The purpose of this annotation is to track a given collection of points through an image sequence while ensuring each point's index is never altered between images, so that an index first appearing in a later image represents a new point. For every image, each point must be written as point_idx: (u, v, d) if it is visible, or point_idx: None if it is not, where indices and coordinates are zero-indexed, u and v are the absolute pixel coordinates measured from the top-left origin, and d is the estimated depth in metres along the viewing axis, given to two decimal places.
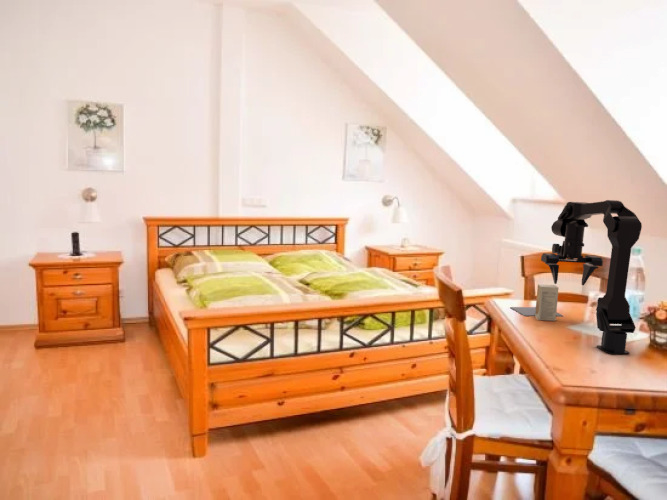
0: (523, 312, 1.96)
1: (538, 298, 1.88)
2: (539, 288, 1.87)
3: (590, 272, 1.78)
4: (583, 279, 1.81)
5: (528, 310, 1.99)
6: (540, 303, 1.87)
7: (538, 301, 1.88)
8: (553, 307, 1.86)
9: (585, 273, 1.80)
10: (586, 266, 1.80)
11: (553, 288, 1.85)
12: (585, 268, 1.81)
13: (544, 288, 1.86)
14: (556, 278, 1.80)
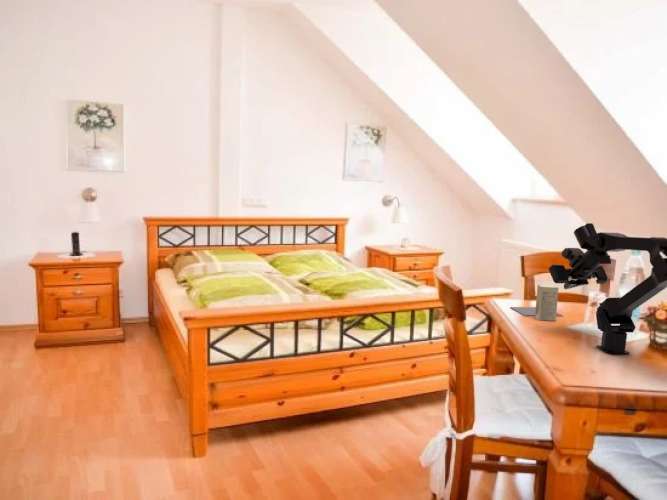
0: (523, 312, 1.96)
1: (538, 298, 1.88)
2: (539, 288, 1.87)
3: (578, 285, 1.75)
4: None
5: (528, 310, 1.99)
6: (540, 303, 1.87)
7: (538, 301, 1.88)
8: (553, 307, 1.86)
9: None
10: None
11: (553, 288, 1.85)
12: None
13: (544, 288, 1.86)
14: (568, 287, 1.77)
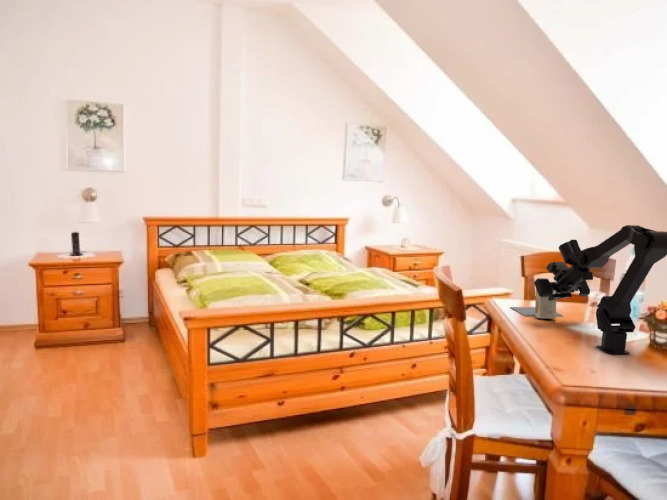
0: (523, 312, 1.96)
1: (537, 296, 1.89)
2: None
3: (562, 298, 1.82)
4: None
5: (528, 310, 1.99)
6: (539, 300, 1.88)
7: (537, 299, 1.89)
8: (553, 304, 1.87)
9: None
10: None
11: None
12: None
13: None
14: (552, 299, 1.84)
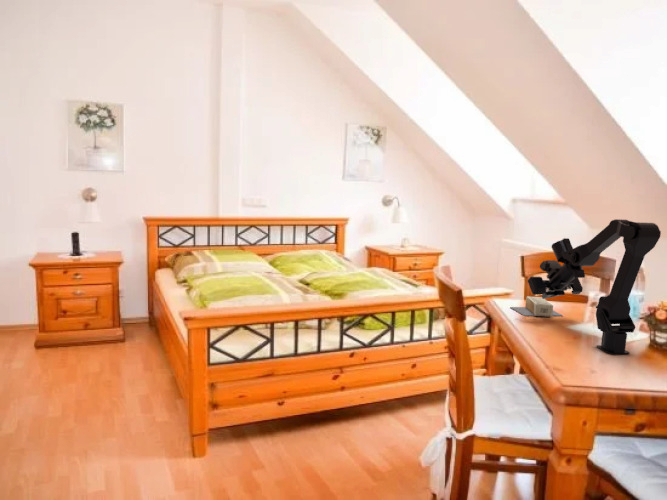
0: (523, 312, 1.96)
1: (529, 303, 1.99)
2: (526, 300, 2.02)
3: None
4: None
5: (528, 310, 1.99)
6: (532, 300, 1.97)
7: (530, 303, 1.98)
8: (545, 301, 1.96)
9: None
10: None
11: (538, 297, 2.02)
12: None
13: None
14: (546, 297, 1.88)
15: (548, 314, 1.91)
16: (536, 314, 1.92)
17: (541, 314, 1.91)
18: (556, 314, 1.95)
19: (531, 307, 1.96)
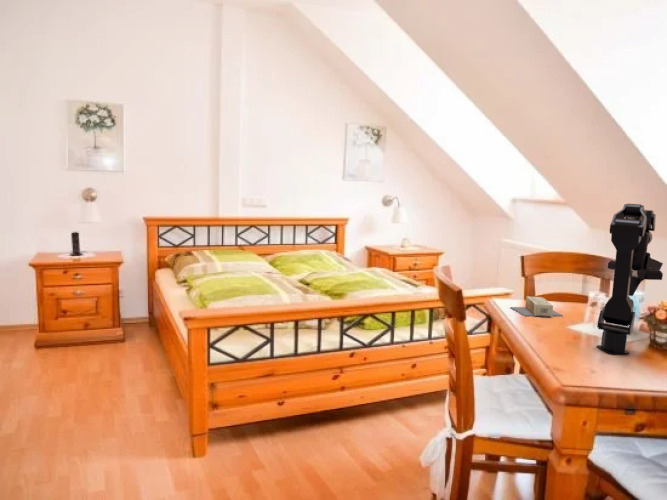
0: (523, 312, 1.96)
1: (529, 303, 1.99)
2: (526, 300, 2.02)
3: None
4: None
5: (528, 310, 1.99)
6: (532, 300, 1.97)
7: (530, 303, 1.98)
8: (545, 301, 1.96)
9: None
10: None
11: (538, 297, 2.02)
12: None
13: None
14: None
15: (548, 314, 1.91)
16: (536, 314, 1.92)
17: (541, 314, 1.91)
18: (556, 314, 1.95)
19: (531, 307, 1.96)
